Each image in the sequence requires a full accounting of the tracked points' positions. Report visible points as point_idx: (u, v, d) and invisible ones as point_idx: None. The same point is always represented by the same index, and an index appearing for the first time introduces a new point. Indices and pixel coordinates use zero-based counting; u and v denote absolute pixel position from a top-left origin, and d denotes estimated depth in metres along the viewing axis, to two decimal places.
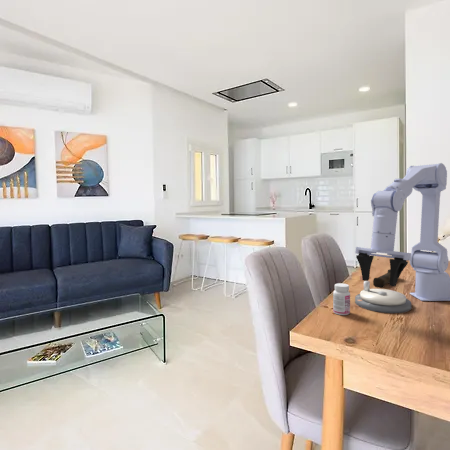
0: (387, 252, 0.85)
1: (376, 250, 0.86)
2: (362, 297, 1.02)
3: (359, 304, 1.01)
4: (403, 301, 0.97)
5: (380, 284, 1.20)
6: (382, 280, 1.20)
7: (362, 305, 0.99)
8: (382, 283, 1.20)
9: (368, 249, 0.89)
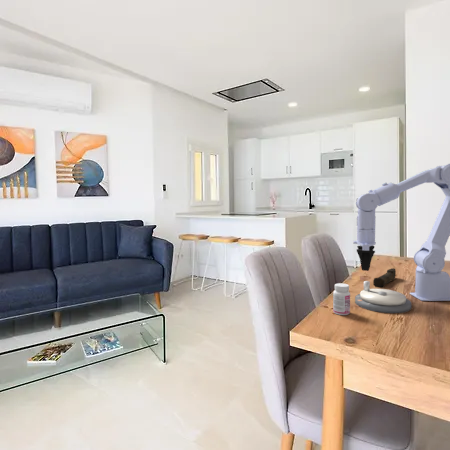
0: (358, 244, 1.09)
1: (353, 242, 1.12)
2: (362, 297, 1.02)
3: (359, 304, 1.01)
4: (403, 301, 0.97)
5: (381, 284, 1.20)
6: (382, 280, 1.20)
7: (362, 305, 0.99)
8: (382, 283, 1.20)
9: None
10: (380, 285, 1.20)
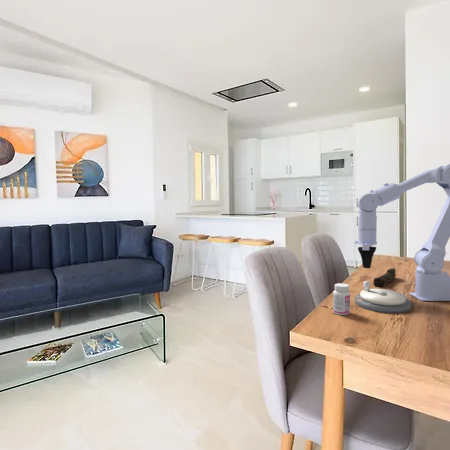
0: (359, 243, 1.10)
1: None
2: (362, 297, 1.02)
3: (359, 304, 1.01)
4: (403, 301, 0.97)
5: (381, 284, 1.20)
6: (382, 280, 1.20)
7: (362, 305, 0.99)
8: (382, 283, 1.20)
9: None
10: (380, 285, 1.20)
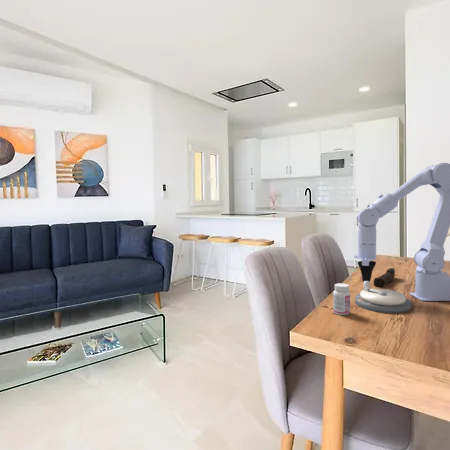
0: (359, 258, 1.10)
1: (354, 256, 1.13)
2: (362, 297, 1.02)
3: (359, 304, 1.01)
4: (403, 301, 0.97)
5: (381, 284, 1.20)
6: (383, 280, 1.20)
7: (362, 305, 0.99)
8: (383, 283, 1.20)
9: None
10: (380, 285, 1.20)
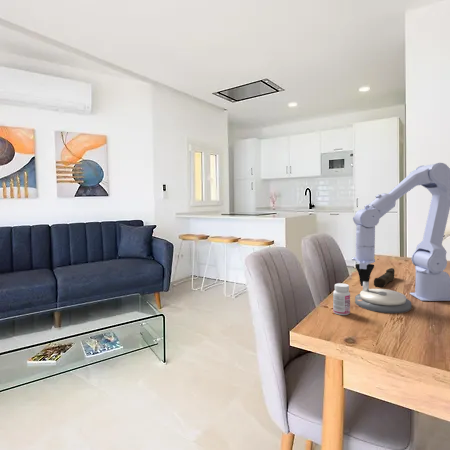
0: (356, 261, 1.05)
1: None
2: (363, 298, 1.01)
3: (359, 304, 1.01)
4: (404, 301, 0.97)
5: (381, 284, 1.20)
6: (383, 280, 1.20)
7: (362, 305, 0.99)
8: (383, 283, 1.20)
9: None
10: (381, 285, 1.20)
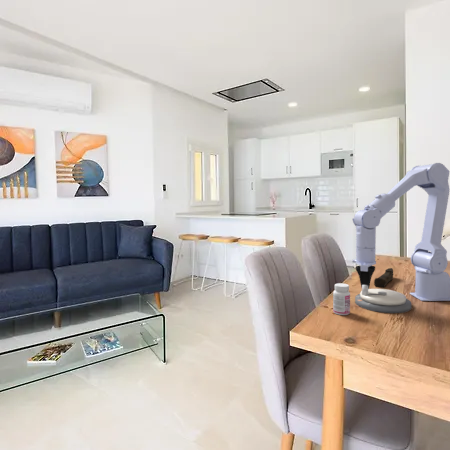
0: (357, 263, 1.03)
1: (352, 261, 1.05)
2: (380, 302, 0.96)
3: (359, 304, 1.01)
4: None
5: (382, 284, 1.20)
6: (383, 280, 1.20)
7: (362, 305, 0.99)
8: (383, 283, 1.20)
9: None
10: (381, 285, 1.20)
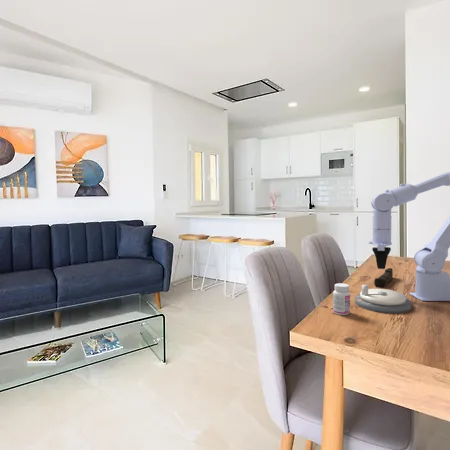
0: (374, 244, 1.09)
1: None
2: (380, 302, 0.96)
3: (359, 304, 1.01)
4: None
5: (382, 284, 1.20)
6: (384, 280, 1.20)
7: (362, 305, 0.99)
8: (384, 283, 1.20)
9: None
10: (381, 285, 1.20)
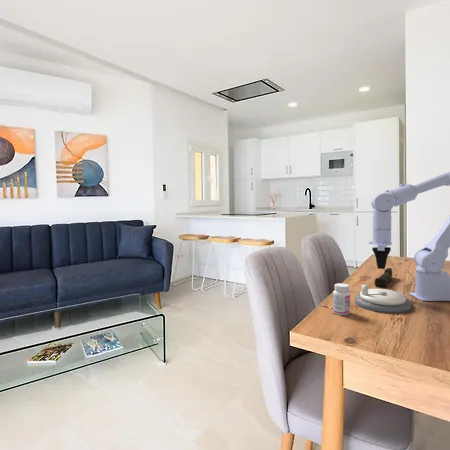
0: (374, 244, 1.09)
1: None
2: (380, 302, 0.96)
3: (359, 304, 1.01)
4: None
5: (382, 284, 1.20)
6: (384, 280, 1.20)
7: (362, 305, 0.99)
8: (384, 283, 1.20)
9: None
10: (382, 285, 1.20)
